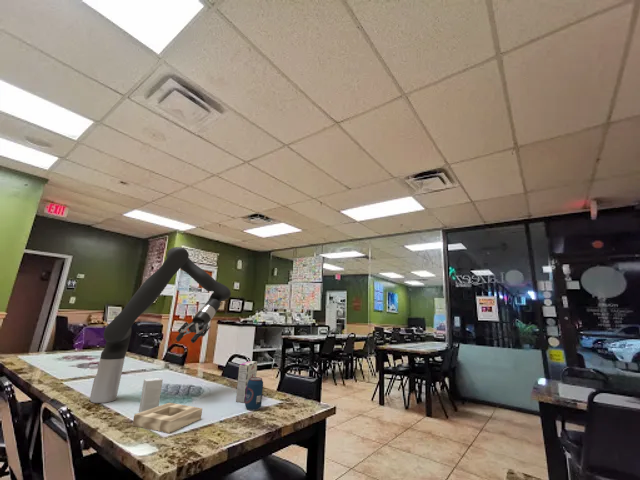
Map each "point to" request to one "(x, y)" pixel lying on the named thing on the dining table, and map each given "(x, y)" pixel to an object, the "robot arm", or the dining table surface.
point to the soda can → (254, 393)
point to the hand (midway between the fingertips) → (184, 341)
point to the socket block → (167, 417)
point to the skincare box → (150, 394)
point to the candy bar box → (245, 379)
